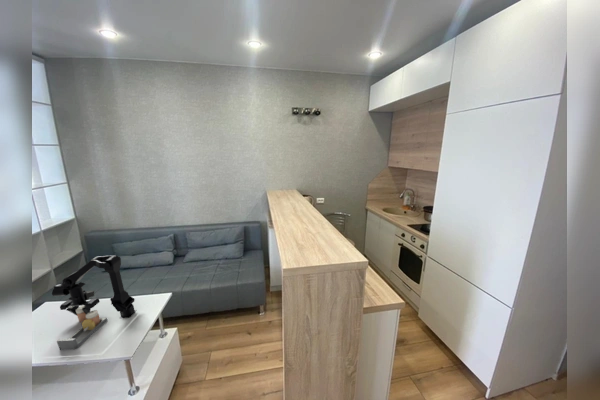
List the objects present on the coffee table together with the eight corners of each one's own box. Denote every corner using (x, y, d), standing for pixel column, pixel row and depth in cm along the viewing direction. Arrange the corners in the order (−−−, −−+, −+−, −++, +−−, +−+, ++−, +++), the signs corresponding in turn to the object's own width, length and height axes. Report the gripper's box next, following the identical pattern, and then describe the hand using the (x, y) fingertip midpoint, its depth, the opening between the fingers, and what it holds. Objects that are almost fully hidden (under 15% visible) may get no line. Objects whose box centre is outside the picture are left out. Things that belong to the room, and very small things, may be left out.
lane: (93, 321, 135) (90, 312, 134) (107, 320, 135) (105, 311, 134) (60, 350, 116) (56, 341, 114) (76, 349, 116) (73, 340, 115)
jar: (93, 315, 140) (89, 304, 138) (85, 322, 135) (81, 311, 133) (84, 316, 140) (81, 305, 138) (76, 322, 134) (73, 311, 133)
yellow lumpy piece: (85, 328, 129) (82, 319, 127) (96, 328, 129) (93, 319, 128) (79, 333, 125) (76, 324, 124) (90, 333, 126) (87, 324, 124)
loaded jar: (103, 321, 134) (99, 309, 132) (95, 328, 129) (92, 316, 127) (94, 321, 134) (91, 310, 132) (86, 328, 129) (83, 316, 127)
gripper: (103, 284, 141) (109, 305, 144) (73, 286, 140) (80, 307, 144) (88, 296, 130) (95, 318, 134) (55, 297, 129) (63, 320, 133)
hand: (83, 315), depth 136 cm, fingers closed on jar, 5 cm apart
